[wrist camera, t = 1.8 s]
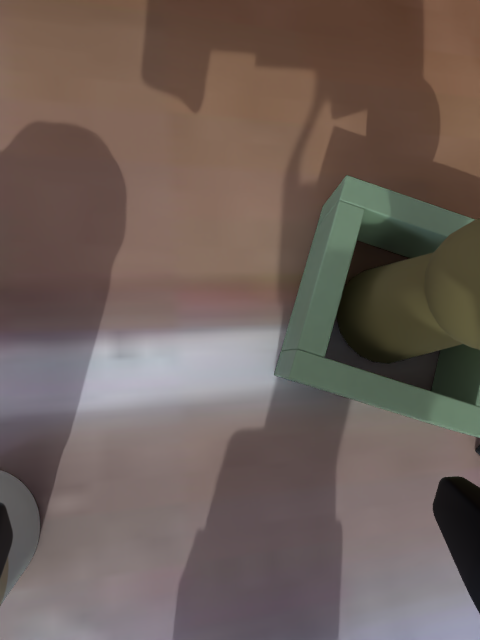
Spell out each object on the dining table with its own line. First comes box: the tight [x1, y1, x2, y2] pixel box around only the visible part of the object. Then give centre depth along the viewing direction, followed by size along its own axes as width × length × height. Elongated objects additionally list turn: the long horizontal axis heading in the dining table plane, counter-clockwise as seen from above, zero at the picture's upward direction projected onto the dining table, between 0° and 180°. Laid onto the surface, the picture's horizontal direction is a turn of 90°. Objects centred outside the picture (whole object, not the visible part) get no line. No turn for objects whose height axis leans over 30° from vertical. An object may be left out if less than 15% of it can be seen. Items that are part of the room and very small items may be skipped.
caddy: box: [274, 175, 480, 438], centre depth 21 cm, size 11×11×4 cm
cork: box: [337, 219, 480, 363], centre depth 18 cm, size 6×6×11 cm
